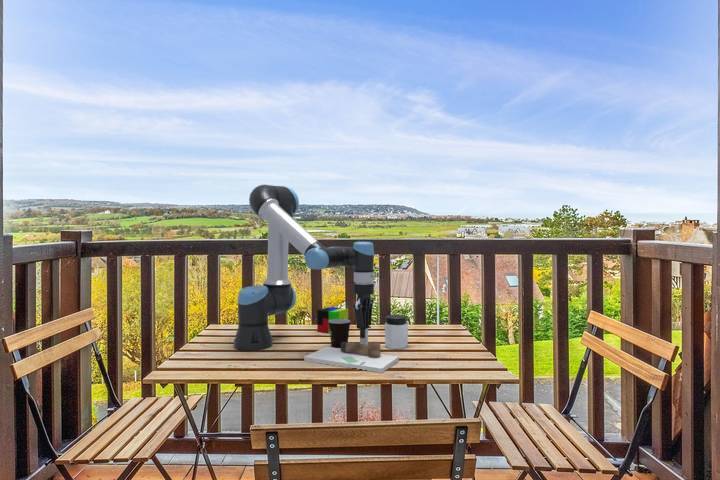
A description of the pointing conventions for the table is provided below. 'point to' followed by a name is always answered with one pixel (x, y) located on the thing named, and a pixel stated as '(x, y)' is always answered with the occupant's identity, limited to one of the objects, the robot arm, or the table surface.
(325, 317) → the puzzle toy
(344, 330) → the coffee mug
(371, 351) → the peg pointer
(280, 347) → the table surface
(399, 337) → the jar
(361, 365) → the board
